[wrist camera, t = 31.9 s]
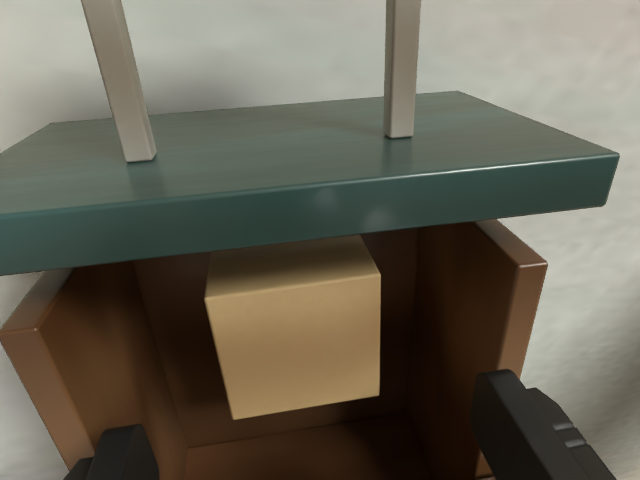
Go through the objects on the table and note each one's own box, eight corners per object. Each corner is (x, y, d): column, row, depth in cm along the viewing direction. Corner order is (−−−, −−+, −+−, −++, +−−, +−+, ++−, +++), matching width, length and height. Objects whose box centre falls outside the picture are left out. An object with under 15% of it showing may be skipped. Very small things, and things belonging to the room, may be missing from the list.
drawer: (-42, -140, 10) (-515, -384, 4) (484, -147, 12) (770, -332, 5) (160, 442, 21) (123, 637, 15) (426, 399, 23) (500, 558, 16)
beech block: (349, 307, 17) (380, 396, 13) (235, 324, 17) (232, 422, 13) (345, 203, 15) (382, 274, 11) (214, 219, 15) (202, 298, 11)
